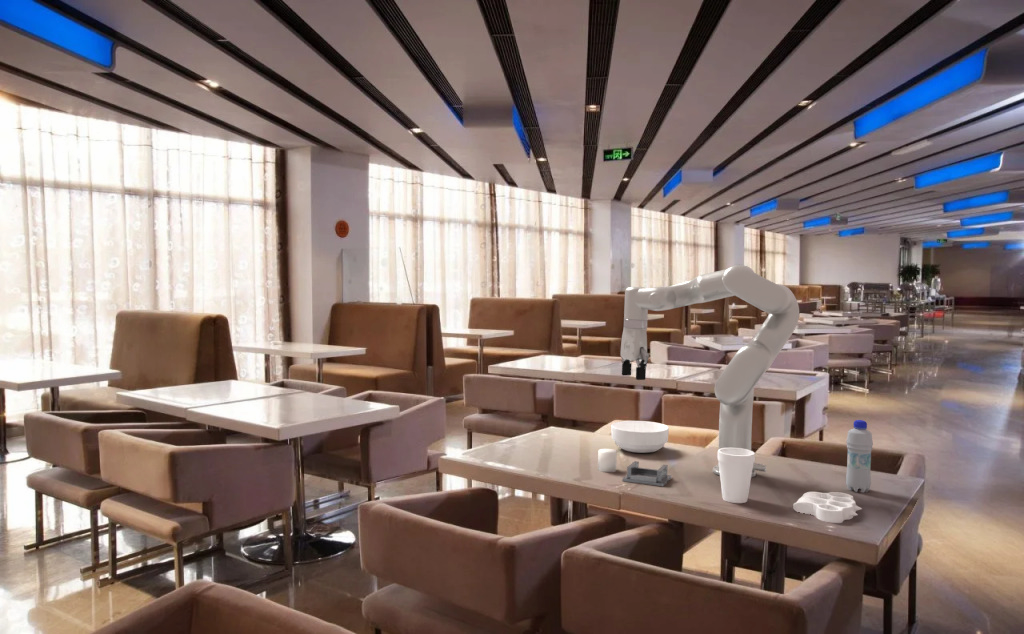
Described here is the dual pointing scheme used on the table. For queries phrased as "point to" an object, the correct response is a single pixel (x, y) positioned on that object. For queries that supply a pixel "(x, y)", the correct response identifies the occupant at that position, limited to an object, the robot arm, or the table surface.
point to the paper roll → (607, 460)
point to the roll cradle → (647, 475)
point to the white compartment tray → (827, 506)
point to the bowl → (639, 435)
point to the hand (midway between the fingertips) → (633, 377)
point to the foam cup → (735, 473)
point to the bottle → (859, 457)
